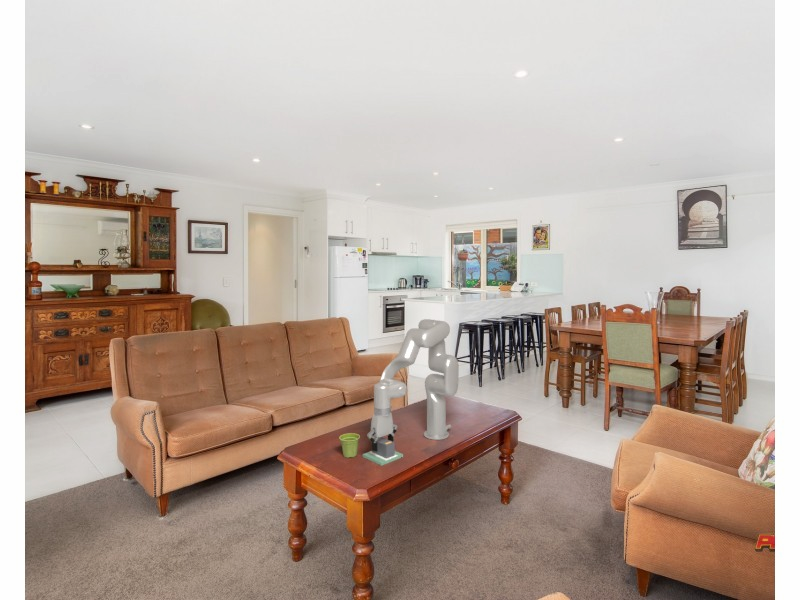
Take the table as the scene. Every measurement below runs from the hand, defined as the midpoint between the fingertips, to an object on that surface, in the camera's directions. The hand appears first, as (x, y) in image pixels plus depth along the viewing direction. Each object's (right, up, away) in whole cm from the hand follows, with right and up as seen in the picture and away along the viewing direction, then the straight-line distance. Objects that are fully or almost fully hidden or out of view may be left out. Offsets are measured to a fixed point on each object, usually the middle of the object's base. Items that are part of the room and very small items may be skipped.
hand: (382, 447), depth 206 cm
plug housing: (0, -3, 0) cm, 3 cm away
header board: (0, -4, 0) cm, 4 cm away
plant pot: (-15, -5, +2) cm, 16 cm away
